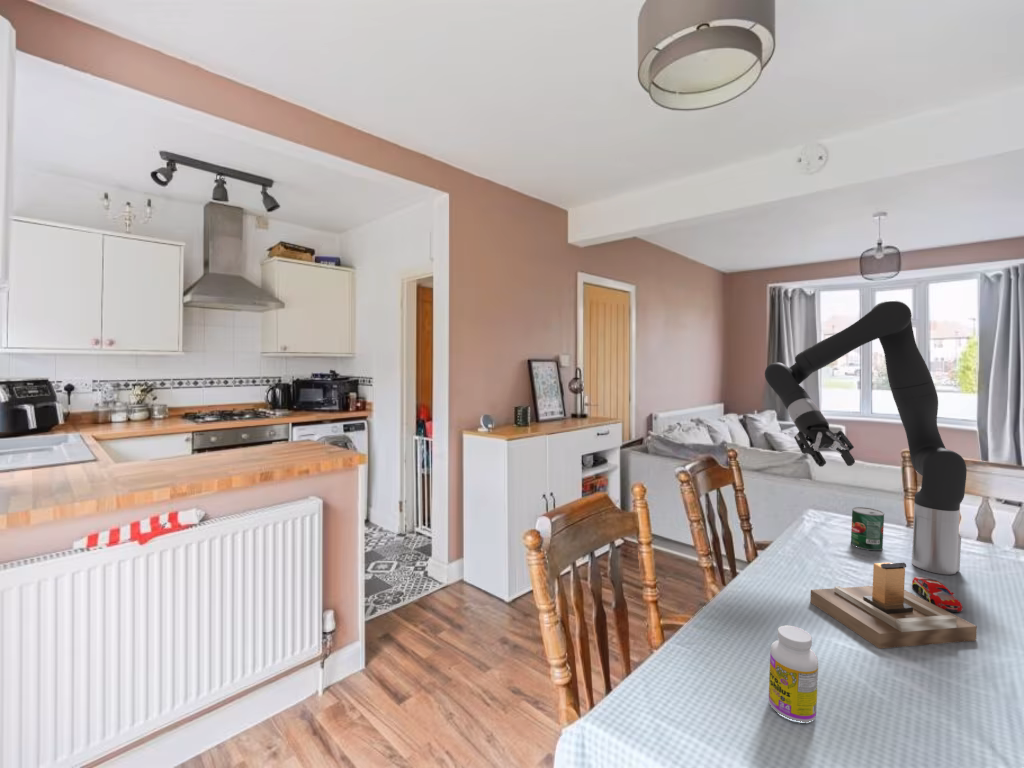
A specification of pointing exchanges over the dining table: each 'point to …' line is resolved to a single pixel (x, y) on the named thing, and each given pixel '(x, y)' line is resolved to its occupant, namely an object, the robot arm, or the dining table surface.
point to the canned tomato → (867, 528)
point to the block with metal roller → (888, 588)
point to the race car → (936, 594)
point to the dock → (893, 619)
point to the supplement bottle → (793, 675)
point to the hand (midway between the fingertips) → (837, 464)
